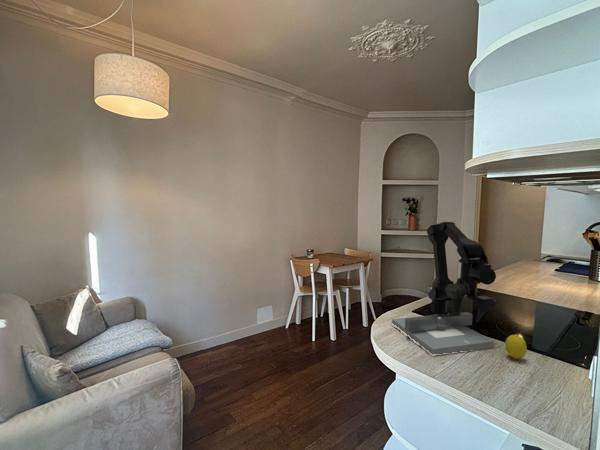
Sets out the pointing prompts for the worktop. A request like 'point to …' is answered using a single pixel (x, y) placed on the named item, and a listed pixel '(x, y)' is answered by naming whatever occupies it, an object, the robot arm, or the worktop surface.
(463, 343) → the cover plate
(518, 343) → the lemon
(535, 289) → the worktop surface
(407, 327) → the dark grey bar
